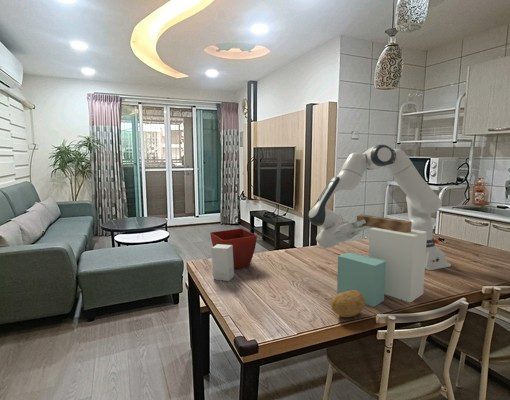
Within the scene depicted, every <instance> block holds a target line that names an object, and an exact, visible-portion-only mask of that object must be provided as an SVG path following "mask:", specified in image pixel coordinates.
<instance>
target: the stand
mask: <svg viewBox="0 0 510 400" xmlns="http://www.w3.org/2000/svg"><path fill="white" fill-rule="evenodd" d="M368 238H369V239H368V257H371V258H375V259H379V260H383V261H386V267H385V289H384V296H385V295H386V296H389V297H392V298H394V299H397V300H401V299H402V300H401V301H404V302H406V303H407V302H408V303H410V302H411V303H413V301H415V300H416V299H418V298H419V297H421V296H422V295H424V290H425V289H424V287H425V286H424V285H425V273H426V272H425V271H426V269H425V258H426V242H427V232H426V231H420V230H413V229H411V232H408V233H404V232H398V231H393V230H387V229H381V228H375V227H370V228H369V237H368Z"/></svg>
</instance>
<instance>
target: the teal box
mask: <svg viewBox="0 0 510 400" xmlns="http://www.w3.org/2000/svg"><path fill="white" fill-rule="evenodd" d="M385 267H386V261H383V260H379V259H375V258H371V257H369V256H367V255H363V254H359V253H355V252H345V253H343V254H340V255H337V282H336V283H337V284H336V285H337V287H336V295H337V294H339V293H341V292H346V291H351V290H356V291H359V292H360V293H361V294H362V295H363V297H364V299H365V306H369V307H373V308H374V307H376V306H377V305H379V304H382V303H383V302H384V301H385V294H384V289H385Z"/></svg>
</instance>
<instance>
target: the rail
mask: <svg viewBox="0 0 510 400" xmlns="http://www.w3.org/2000/svg"><path fill="white" fill-rule="evenodd" d="M363 219H366V221H367V223H365V224H363V226H369V227H368V228H381V229H387V230H393V231H398V232H404V233H408V232H411V226H412V221H409V220H404V219H403V220H402V219H397V218H396V219H395V218H390V217H389V218H388V217H381V216H373V215H367V214H358V215H356V221H357V222H358V221H361V220H363Z"/></svg>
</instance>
